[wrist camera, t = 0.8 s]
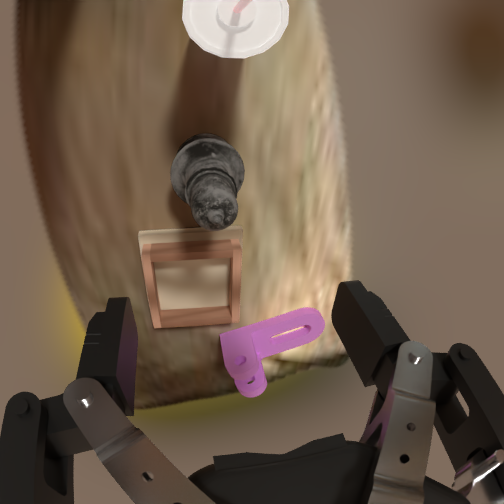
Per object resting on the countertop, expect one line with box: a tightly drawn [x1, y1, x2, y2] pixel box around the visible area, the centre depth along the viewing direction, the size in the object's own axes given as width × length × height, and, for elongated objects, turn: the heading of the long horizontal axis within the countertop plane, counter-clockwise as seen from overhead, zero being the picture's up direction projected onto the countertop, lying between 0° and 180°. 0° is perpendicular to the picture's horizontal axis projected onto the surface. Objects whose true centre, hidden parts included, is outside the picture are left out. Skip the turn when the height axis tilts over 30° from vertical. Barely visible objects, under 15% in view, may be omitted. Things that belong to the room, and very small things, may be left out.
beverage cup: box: [182, 0, 289, 58], centre depth 16 cm, size 6×6×14 cm
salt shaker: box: [171, 134, 245, 231], centre depth 23 cm, size 6×6×12 cm
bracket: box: [220, 307, 325, 397], centre depth 38 cm, size 13×6×7 cm, turn 105°
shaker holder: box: [138, 226, 243, 328], centre depth 33 cm, size 11×10×3 cm
